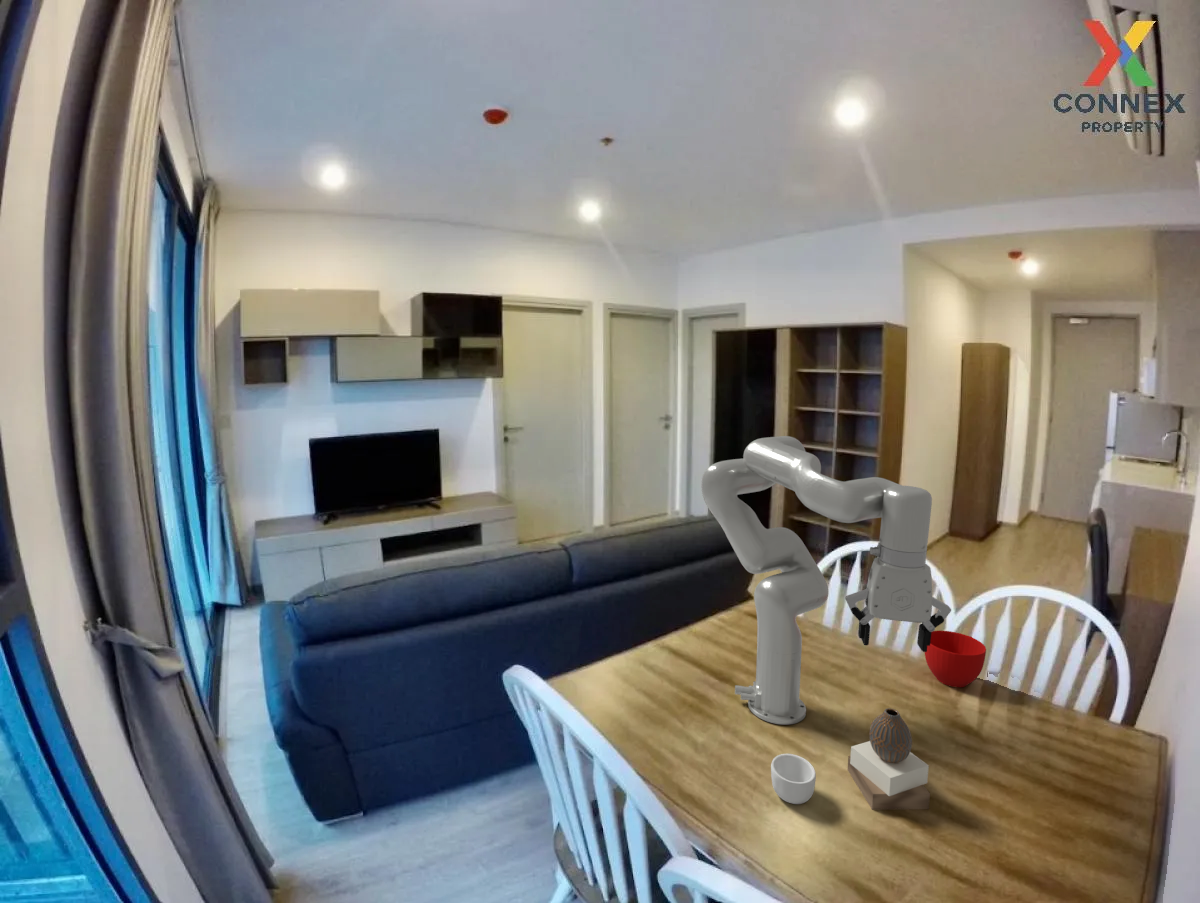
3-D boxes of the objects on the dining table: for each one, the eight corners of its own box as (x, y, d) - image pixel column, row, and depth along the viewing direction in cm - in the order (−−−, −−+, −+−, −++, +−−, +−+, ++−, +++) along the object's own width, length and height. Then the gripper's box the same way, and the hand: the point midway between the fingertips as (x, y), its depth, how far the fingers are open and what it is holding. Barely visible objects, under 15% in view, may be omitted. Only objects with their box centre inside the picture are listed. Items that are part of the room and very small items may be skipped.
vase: (861, 743, 108) (863, 701, 107) (897, 741, 109) (900, 699, 107) (880, 770, 102) (883, 725, 100) (918, 768, 102) (922, 723, 100)
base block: (871, 812, 101) (873, 794, 101) (847, 772, 111) (848, 755, 111) (928, 811, 101) (930, 793, 101) (898, 772, 111) (900, 755, 111)
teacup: (817, 814, 100) (819, 786, 99) (771, 807, 102) (773, 780, 101) (808, 774, 110) (810, 749, 109) (767, 769, 111) (768, 743, 111)
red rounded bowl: (997, 677, 143) (1001, 639, 142) (969, 701, 133) (973, 661, 132) (941, 657, 154) (944, 621, 152) (911, 677, 144) (914, 640, 142)
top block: (889, 796, 100) (890, 778, 100) (850, 763, 108) (851, 746, 108) (927, 783, 103) (928, 765, 103) (886, 752, 112) (887, 735, 111)
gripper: (853, 558, 101) (846, 649, 103) (963, 567, 97) (952, 661, 100) (845, 545, 108) (838, 630, 111) (948, 552, 104) (938, 641, 107)
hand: (892, 645), depth 105 cm, fingers open, 9 cm apart
